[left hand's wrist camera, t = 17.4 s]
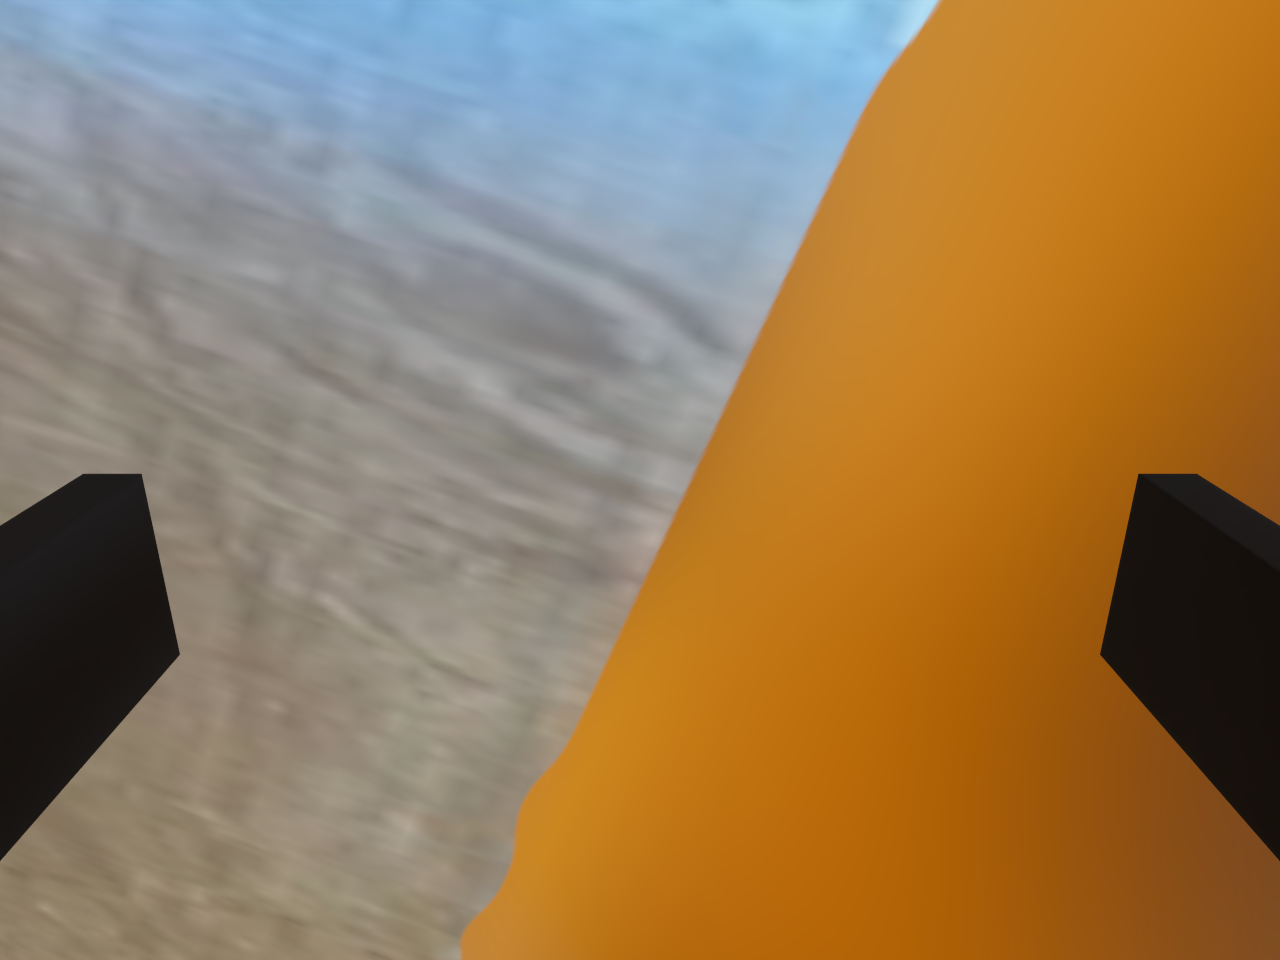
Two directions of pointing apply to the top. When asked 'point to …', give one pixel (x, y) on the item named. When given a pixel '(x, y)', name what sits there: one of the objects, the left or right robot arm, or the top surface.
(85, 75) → the top surface
